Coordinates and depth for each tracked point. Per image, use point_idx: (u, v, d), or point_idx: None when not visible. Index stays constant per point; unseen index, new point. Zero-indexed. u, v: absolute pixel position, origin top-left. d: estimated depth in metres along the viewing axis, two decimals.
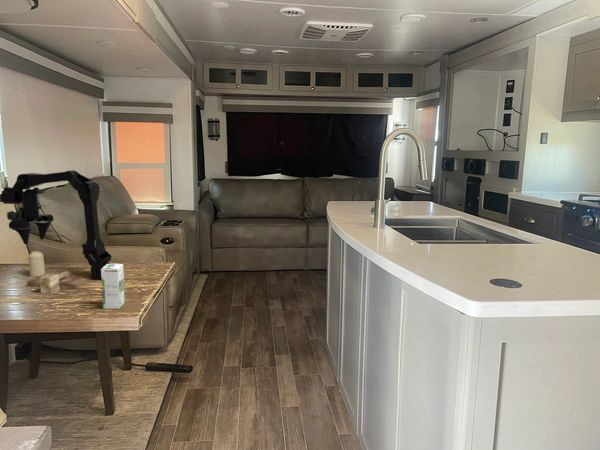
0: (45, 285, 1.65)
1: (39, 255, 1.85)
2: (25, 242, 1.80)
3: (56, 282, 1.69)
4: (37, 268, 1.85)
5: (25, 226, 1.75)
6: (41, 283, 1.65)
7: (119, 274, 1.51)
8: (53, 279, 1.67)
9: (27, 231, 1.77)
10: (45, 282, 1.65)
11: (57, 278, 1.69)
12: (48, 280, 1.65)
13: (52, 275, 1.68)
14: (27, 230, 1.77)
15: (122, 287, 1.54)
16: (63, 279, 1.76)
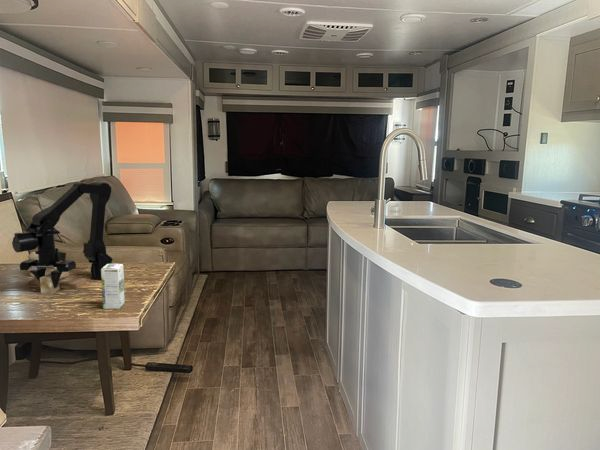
0: (45, 285, 1.65)
1: None
2: None
3: None
4: None
5: (23, 268, 1.64)
6: (41, 283, 1.65)
7: (119, 274, 1.51)
8: None
9: (34, 274, 1.65)
10: (45, 282, 1.65)
11: None
12: (48, 280, 1.65)
13: None
14: (33, 273, 1.65)
15: (122, 287, 1.54)
16: (63, 279, 1.76)
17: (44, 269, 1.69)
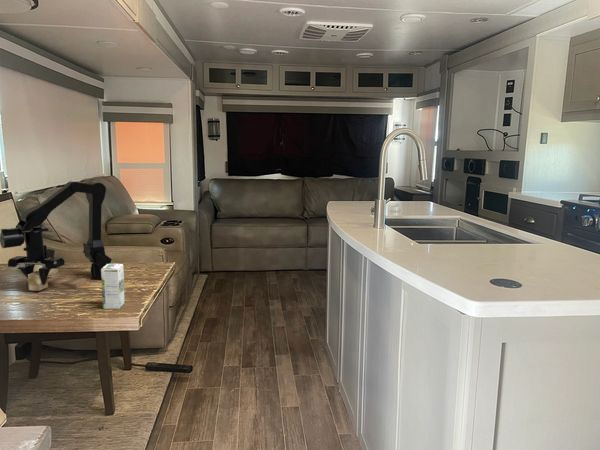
0: (33, 282, 1.65)
1: None
2: None
3: None
4: (37, 268, 1.85)
5: (11, 265, 1.64)
6: (29, 280, 1.65)
7: (119, 274, 1.51)
8: None
9: (22, 271, 1.65)
10: (33, 279, 1.65)
11: None
12: (36, 276, 1.65)
13: None
14: (21, 270, 1.65)
15: (122, 287, 1.54)
16: (63, 279, 1.76)
17: (32, 266, 1.69)
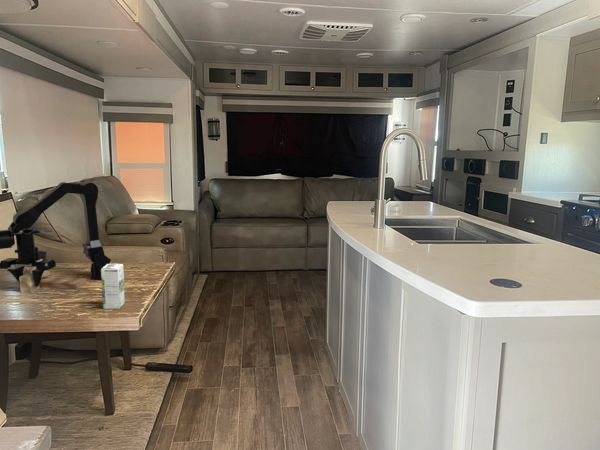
0: (25, 284, 1.66)
1: None
2: None
3: None
4: None
5: (2, 267, 1.65)
6: (21, 282, 1.66)
7: (119, 274, 1.51)
8: (33, 278, 1.67)
9: (11, 273, 1.66)
10: (25, 281, 1.66)
11: None
12: (27, 279, 1.66)
13: (32, 274, 1.69)
14: (11, 272, 1.65)
15: (122, 287, 1.54)
16: (63, 279, 1.76)
17: (22, 268, 1.69)
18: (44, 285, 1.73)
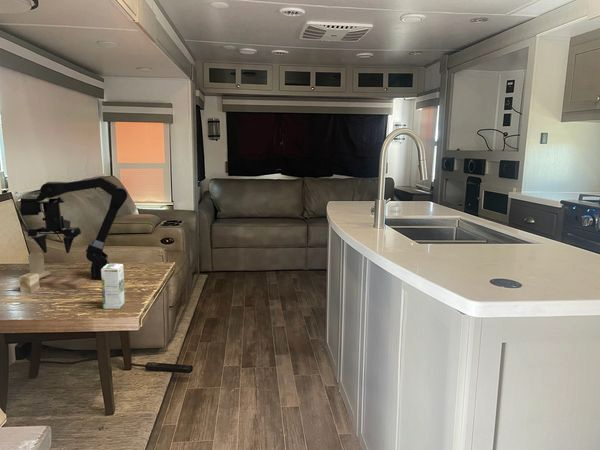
0: (25, 284, 1.66)
1: (39, 255, 1.85)
2: None
3: (36, 281, 1.69)
4: (37, 268, 1.85)
5: (30, 234, 1.74)
6: (21, 282, 1.66)
7: (119, 274, 1.51)
8: (33, 278, 1.67)
9: (35, 240, 1.75)
10: (25, 281, 1.66)
11: (37, 277, 1.70)
12: (27, 279, 1.66)
13: (32, 274, 1.69)
14: (34, 239, 1.74)
15: (122, 287, 1.54)
16: (63, 279, 1.76)
17: (45, 236, 1.79)
18: (44, 285, 1.73)
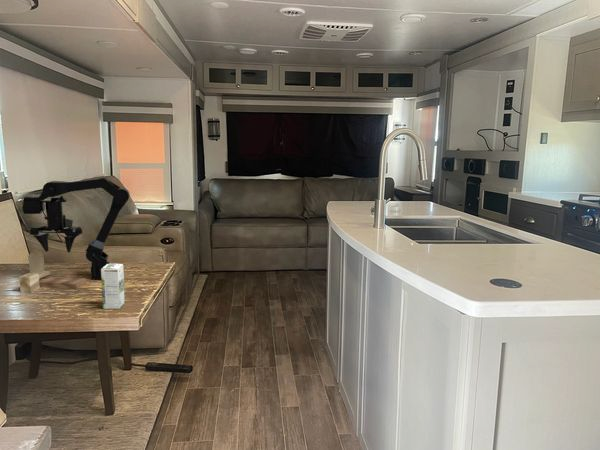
0: (25, 284, 1.66)
1: (39, 255, 1.85)
2: None
3: (36, 281, 1.69)
4: (37, 268, 1.85)
5: (32, 233, 1.75)
6: (21, 282, 1.66)
7: (119, 274, 1.51)
8: (33, 278, 1.67)
9: (37, 238, 1.76)
10: (25, 281, 1.66)
11: (37, 277, 1.70)
12: (27, 279, 1.66)
13: (32, 274, 1.69)
14: (36, 237, 1.75)
15: (122, 287, 1.54)
16: (63, 279, 1.76)
17: (46, 234, 1.79)
18: (44, 285, 1.73)
